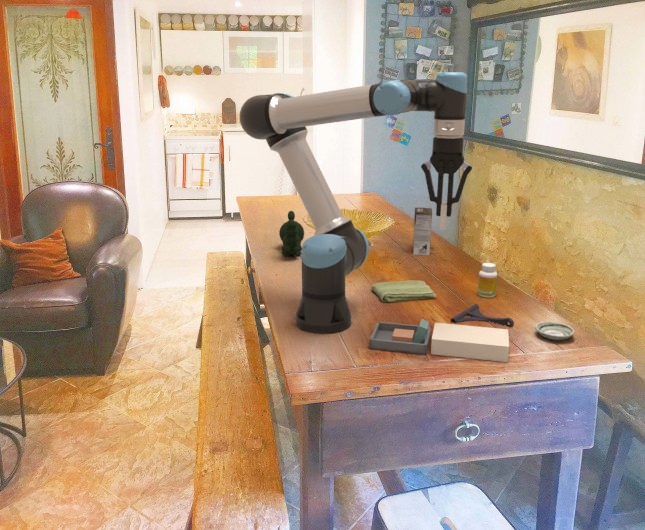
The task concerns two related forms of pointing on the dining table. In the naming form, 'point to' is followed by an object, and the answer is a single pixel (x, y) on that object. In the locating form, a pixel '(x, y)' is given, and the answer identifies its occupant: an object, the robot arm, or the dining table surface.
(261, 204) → the dining table surface
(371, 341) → the tray
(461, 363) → the dining table surface
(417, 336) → the green glazed tile
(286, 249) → the toy figurine
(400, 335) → the terracotta tile
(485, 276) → the supplement bottle
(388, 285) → the washcloth
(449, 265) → the dining table surface
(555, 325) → the saucer
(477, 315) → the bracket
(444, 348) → the cream board
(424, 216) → the coffee box
